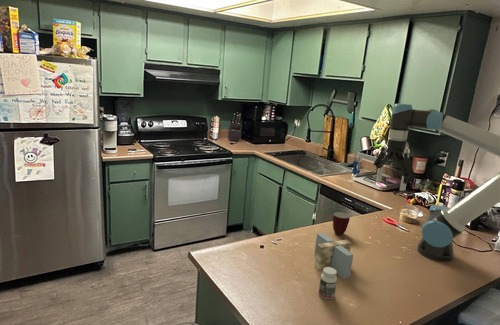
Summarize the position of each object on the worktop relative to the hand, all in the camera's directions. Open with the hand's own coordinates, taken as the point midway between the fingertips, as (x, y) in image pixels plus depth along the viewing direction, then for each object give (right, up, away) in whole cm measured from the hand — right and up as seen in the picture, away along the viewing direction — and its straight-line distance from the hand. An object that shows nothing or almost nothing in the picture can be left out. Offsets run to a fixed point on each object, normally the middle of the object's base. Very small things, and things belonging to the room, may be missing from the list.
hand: (390, 185), depth 157 cm
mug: (-18, -26, +19) cm, 37 cm away
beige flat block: (-29, -32, -12) cm, 45 cm away
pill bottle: (-36, -37, -32) cm, 61 cm away
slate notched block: (-30, -32, -12) cm, 45 cm away
